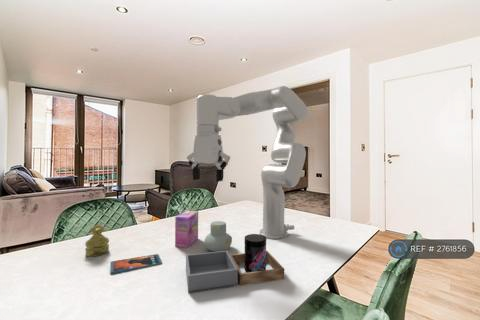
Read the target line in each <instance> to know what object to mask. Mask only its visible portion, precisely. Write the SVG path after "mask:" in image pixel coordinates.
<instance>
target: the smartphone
mask: <svg viewBox="0 0 480 320" xmlns="http://www.w3.org/2000/svg"><path fill="white" fill-rule="evenodd" d="M161 265H163V261H162V259H161V257H160V254H159V253H157V254H156V253H155V254H150V255H149V254H148V255H144V256H138V257H131V258H124V259H120V260H119V259H118V260H113V261H110V269H109V271H110V272H109V273H110V275H114V274H121V273H126V272H129V271H130V272H131V271H135V270H140V269H141V270H142V269H145V268H146V269H147V268H150V267H154V266H161Z"/></svg>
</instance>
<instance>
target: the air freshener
mask: <svg viewBox="0 0 480 320" xmlns="http://www.w3.org/2000/svg"><path fill="white" fill-rule="evenodd" d="M232 243H233V238H232V236H231V235H230V233H227V223H226V222H225V221H221V220H216V221H215V220H214V221H212V222H210V232H209V233H208V234H207V235H206V236H205V238H204V241H203V244H204V245H203V246H204V247H205V249H207V250H208V251H209V252H219V251H228V249H229V250H230V248H231V245H232Z"/></svg>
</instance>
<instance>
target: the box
mask: <svg viewBox="0 0 480 320" xmlns="http://www.w3.org/2000/svg"><path fill="white" fill-rule="evenodd" d="M174 221H175V225H174V228H175V230H174V232H175V233H174V246H175V247H178V248H185V249H186V248H189V247H190V246H191V245H193V244H194V243H195V241H197V240H198V239H199V211H196V210H185V211H184V212H181V213H180V214H178V215H176V216H175V220H174Z"/></svg>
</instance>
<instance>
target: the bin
mask: <svg viewBox="0 0 480 320" xmlns="http://www.w3.org/2000/svg"><path fill="white" fill-rule="evenodd" d="M230 255H231V254H230V253H229V251H228V250H226V251H219V252H213V251H209V252H200V253H191V254H185V275H186V283H187V285H186V286H187V293H188V294H193V293H197V292H205V291H206V292H207V291H212V290H218V289H226V288H231V287H238V285H239V284H238V283H239V282H238V269H237V268H236V266H235V264H234V262H233V260H232V258H231V257H230Z"/></svg>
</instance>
